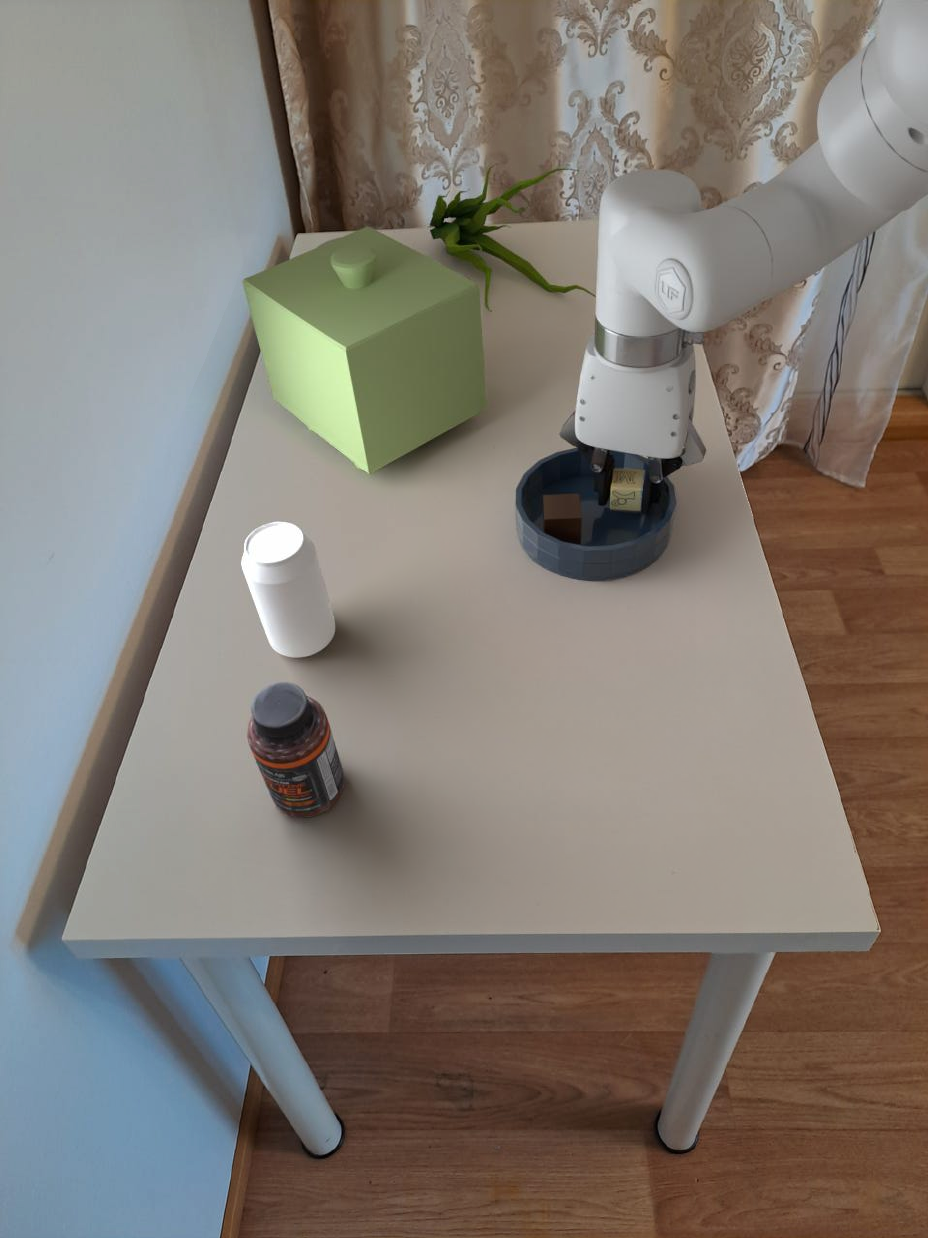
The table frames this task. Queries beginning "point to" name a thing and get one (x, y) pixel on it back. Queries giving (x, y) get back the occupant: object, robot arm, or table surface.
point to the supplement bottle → (295, 750)
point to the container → (370, 345)
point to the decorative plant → (471, 226)
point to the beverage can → (288, 589)
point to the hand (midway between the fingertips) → (626, 499)
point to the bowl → (592, 520)
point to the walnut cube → (563, 517)
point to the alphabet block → (627, 489)
